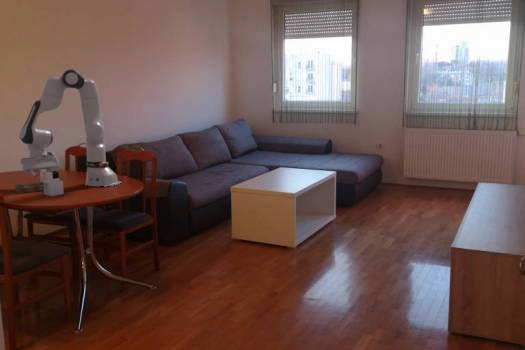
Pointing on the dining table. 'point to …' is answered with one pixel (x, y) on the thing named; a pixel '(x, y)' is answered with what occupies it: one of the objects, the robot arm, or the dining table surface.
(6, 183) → the dining table surface
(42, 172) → the fader
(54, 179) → the container
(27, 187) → the mixing board
